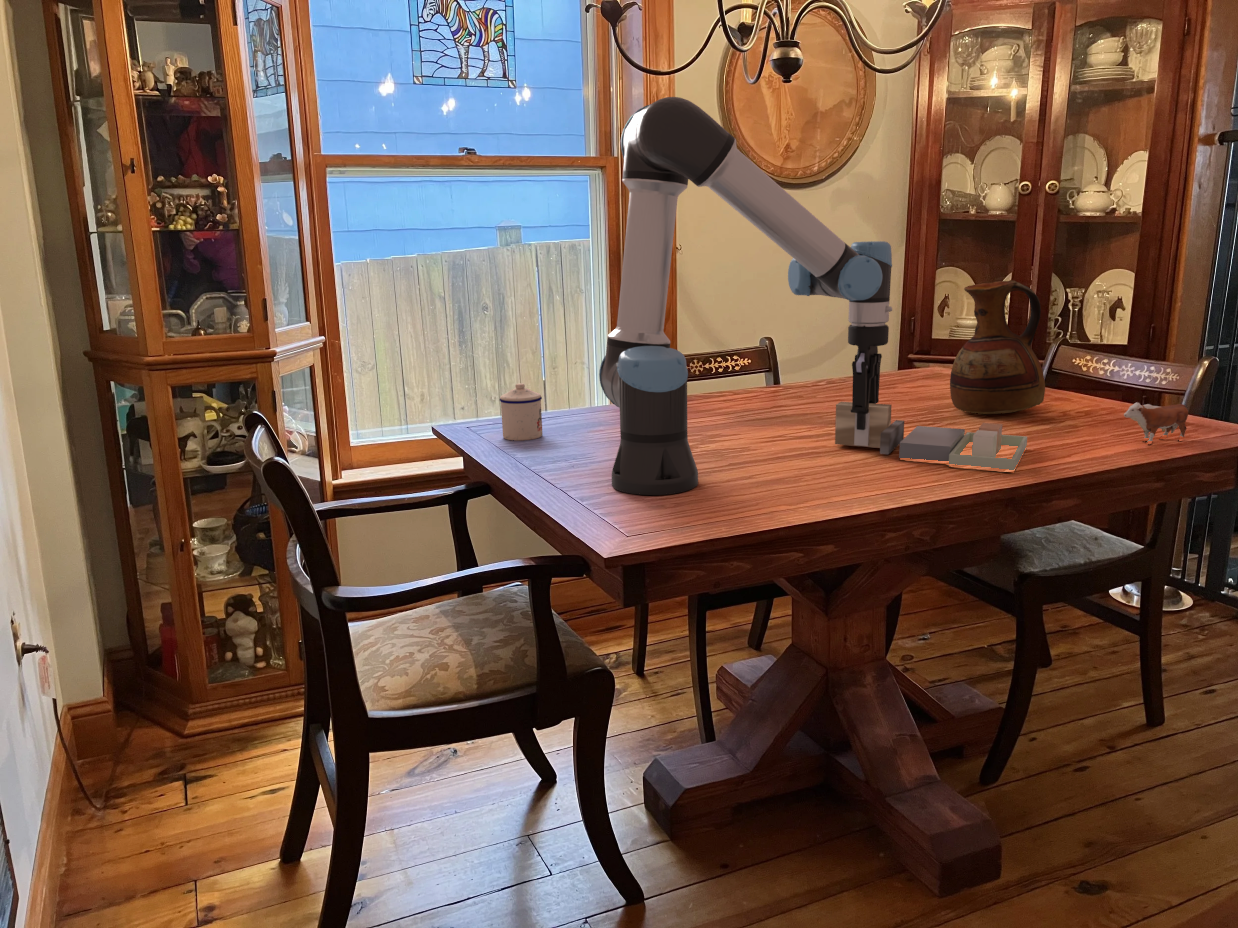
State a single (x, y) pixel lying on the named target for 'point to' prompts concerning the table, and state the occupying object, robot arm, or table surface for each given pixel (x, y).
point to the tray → (989, 461)
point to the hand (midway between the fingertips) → (864, 442)
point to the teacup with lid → (521, 414)
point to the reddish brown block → (993, 428)
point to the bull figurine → (1158, 418)
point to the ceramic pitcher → (997, 357)
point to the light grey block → (984, 443)
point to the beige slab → (879, 431)
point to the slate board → (930, 443)
